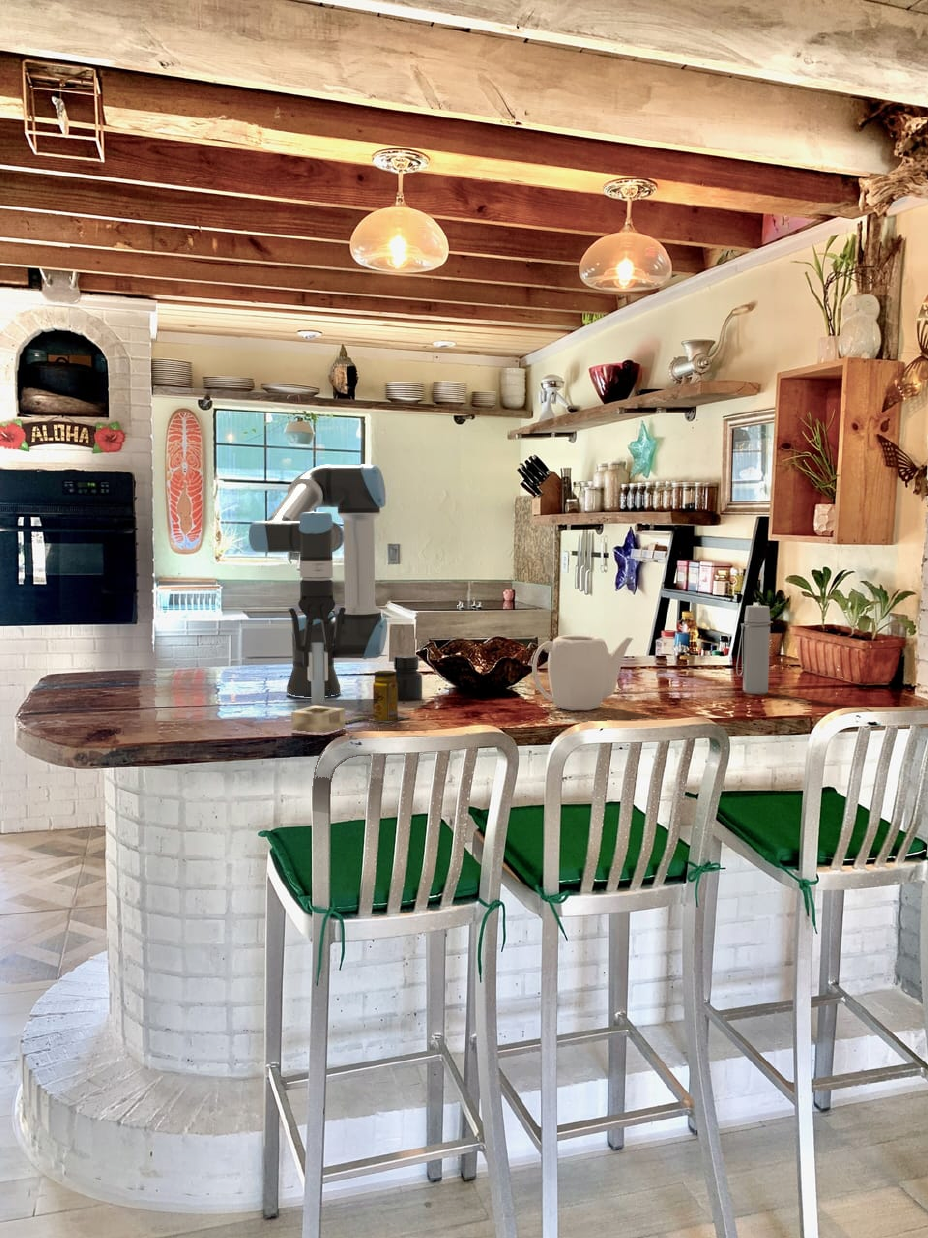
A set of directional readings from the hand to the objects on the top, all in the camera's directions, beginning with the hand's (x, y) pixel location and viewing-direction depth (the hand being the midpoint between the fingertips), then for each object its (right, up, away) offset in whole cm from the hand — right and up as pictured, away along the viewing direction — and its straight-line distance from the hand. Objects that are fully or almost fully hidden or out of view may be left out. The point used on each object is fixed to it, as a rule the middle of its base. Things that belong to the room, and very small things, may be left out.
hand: (317, 679), depth 225 cm
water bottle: (+117, -7, +54) cm, 129 cm away
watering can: (+65, -10, +31) cm, 73 cm away
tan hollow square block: (0, -12, +1) cm, 12 cm away
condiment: (+15, -11, +16) cm, 25 cm away
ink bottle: (+18, -8, +44) cm, 48 cm away
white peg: (0, -5, +1) cm, 5 cm away
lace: (+6, -11, +12) cm, 17 cm away
